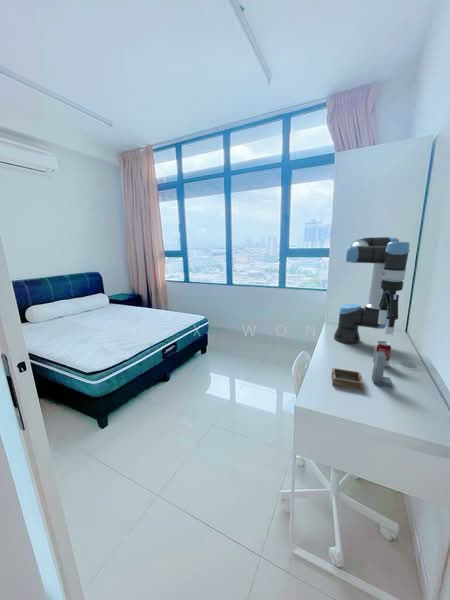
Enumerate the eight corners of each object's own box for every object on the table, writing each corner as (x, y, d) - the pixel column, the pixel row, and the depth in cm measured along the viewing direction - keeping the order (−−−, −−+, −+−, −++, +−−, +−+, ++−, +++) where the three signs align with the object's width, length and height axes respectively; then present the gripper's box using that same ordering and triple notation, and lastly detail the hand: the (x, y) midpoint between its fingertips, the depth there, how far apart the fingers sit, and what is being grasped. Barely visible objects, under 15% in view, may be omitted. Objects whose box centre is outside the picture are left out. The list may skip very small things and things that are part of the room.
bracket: (373, 384, 111) (378, 355, 107) (371, 378, 115) (375, 351, 112) (391, 387, 108) (397, 358, 105) (389, 381, 113) (393, 353, 109)
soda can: (390, 368, 124) (394, 346, 122) (375, 366, 126) (379, 345, 123) (384, 361, 131) (388, 340, 128) (371, 360, 132) (374, 340, 129)
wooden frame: (331, 374, 119) (332, 367, 118) (359, 379, 115) (360, 372, 114) (332, 385, 110) (333, 378, 109) (362, 390, 106) (363, 383, 105)
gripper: (375, 275, 114) (369, 319, 119) (389, 284, 91) (381, 337, 96) (394, 276, 111) (387, 321, 116) (414, 285, 89) (404, 340, 93)
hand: (384, 328), depth 106 cm, fingers open, 13 cm apart
